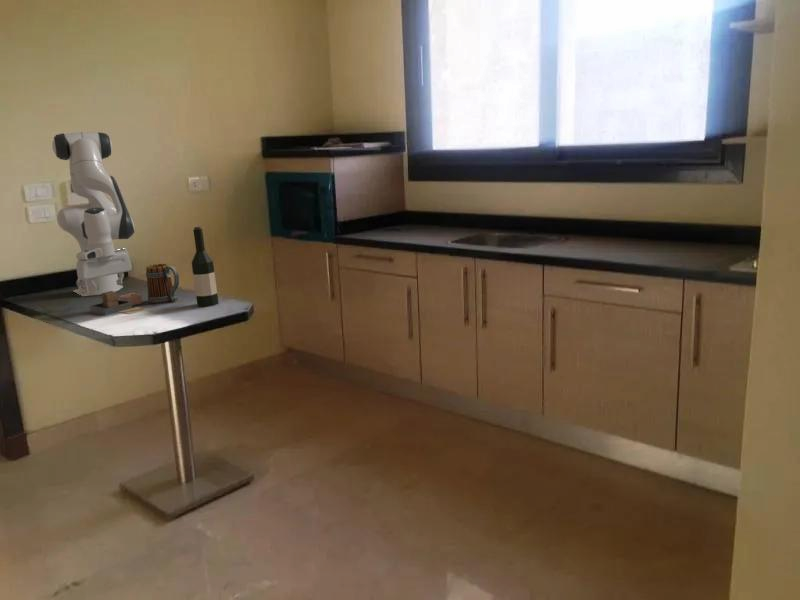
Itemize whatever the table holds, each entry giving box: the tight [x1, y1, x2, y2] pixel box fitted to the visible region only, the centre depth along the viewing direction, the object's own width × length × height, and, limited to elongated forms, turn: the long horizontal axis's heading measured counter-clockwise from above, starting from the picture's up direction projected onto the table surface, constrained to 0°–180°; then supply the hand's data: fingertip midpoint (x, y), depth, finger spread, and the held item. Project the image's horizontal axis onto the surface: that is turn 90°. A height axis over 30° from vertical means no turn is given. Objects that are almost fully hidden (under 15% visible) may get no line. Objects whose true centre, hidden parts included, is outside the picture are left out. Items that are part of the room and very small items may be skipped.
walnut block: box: [101, 291, 119, 308], centre depth 258 cm, size 4×4×7 cm
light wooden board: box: [118, 306, 149, 315], centre depth 256 cm, size 8×8×1 cm
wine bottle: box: [191, 226, 219, 308], centre depth 256 cm, size 8×8×30 cm
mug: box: [145, 263, 180, 305], centre depth 267 cm, size 16×11×15 cm
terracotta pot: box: [118, 292, 143, 306], centre depth 268 cm, size 6×6×4 cm
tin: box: [89, 299, 133, 316], centre depth 258 cm, size 11×11×3 cm
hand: (108, 287), depth 256 cm, fingers open, 8 cm apart
